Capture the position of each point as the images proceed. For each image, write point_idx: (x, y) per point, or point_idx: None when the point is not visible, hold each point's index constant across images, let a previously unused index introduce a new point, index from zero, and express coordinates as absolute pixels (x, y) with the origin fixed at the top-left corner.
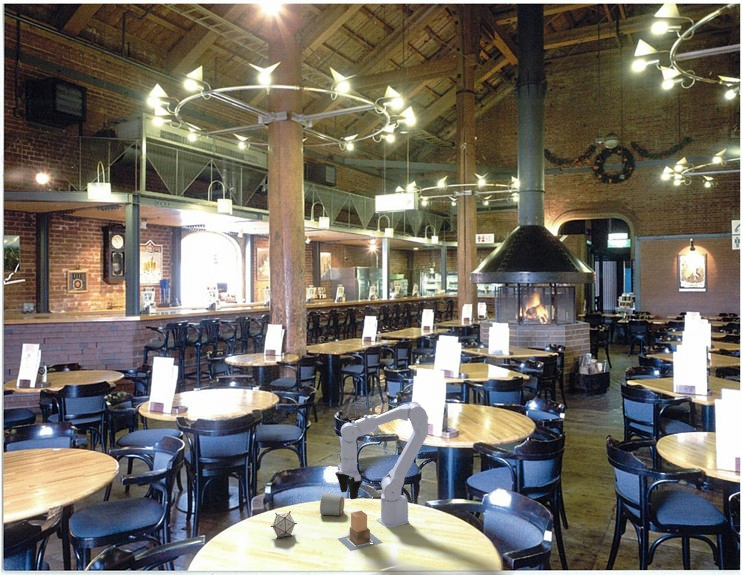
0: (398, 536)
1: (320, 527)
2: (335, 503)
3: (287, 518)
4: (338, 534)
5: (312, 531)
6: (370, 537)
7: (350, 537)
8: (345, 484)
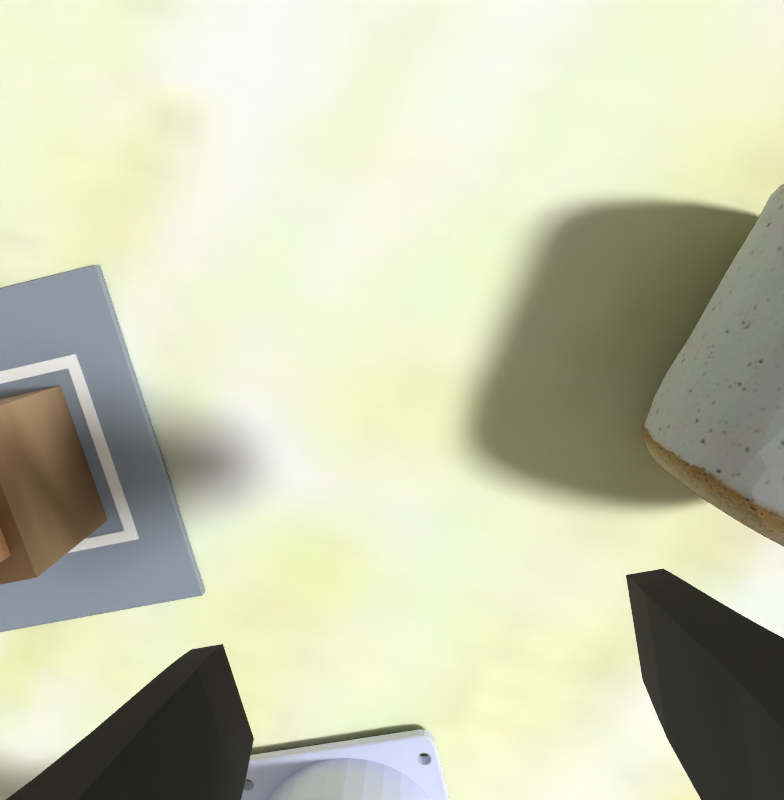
0: None
1: (444, 143)
2: (720, 409)
3: None
4: (217, 305)
5: (362, 24)
6: (66, 574)
7: (34, 393)
8: (722, 788)
